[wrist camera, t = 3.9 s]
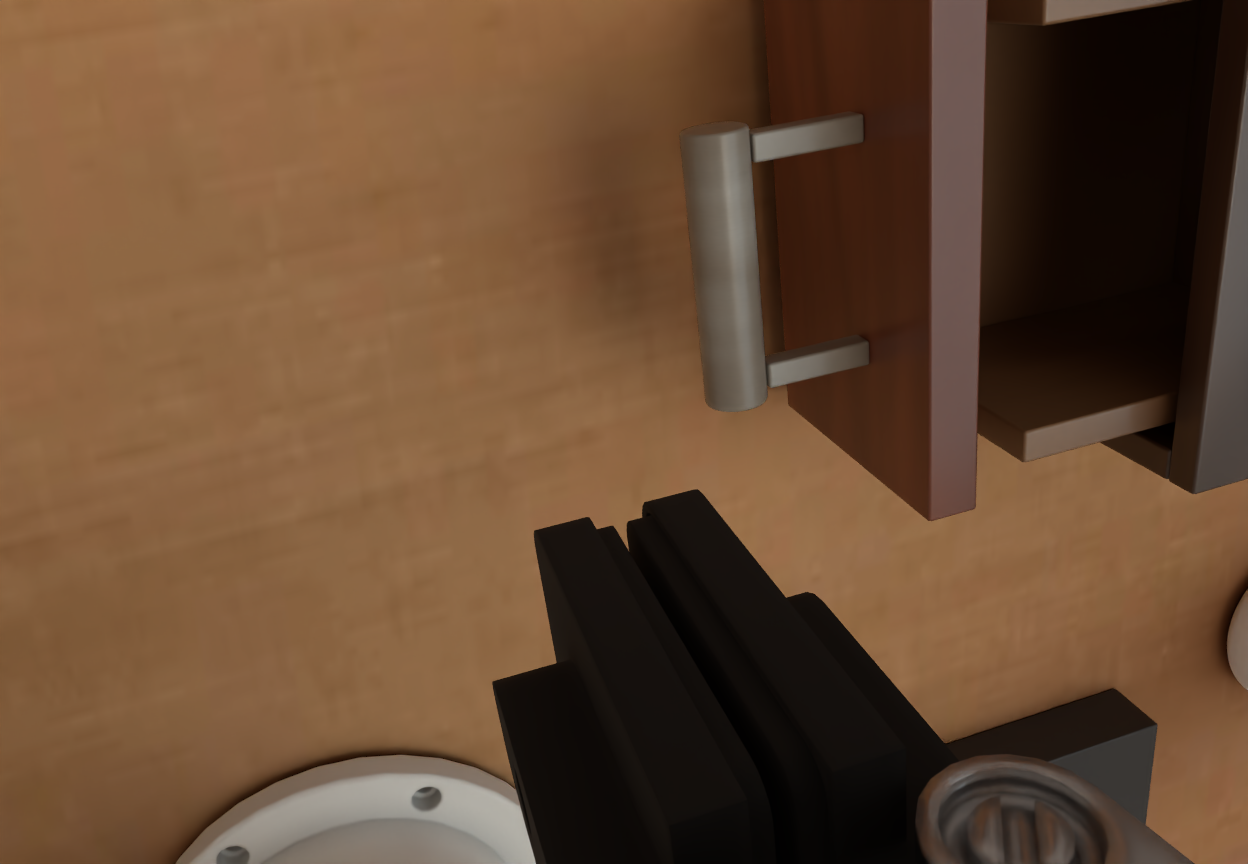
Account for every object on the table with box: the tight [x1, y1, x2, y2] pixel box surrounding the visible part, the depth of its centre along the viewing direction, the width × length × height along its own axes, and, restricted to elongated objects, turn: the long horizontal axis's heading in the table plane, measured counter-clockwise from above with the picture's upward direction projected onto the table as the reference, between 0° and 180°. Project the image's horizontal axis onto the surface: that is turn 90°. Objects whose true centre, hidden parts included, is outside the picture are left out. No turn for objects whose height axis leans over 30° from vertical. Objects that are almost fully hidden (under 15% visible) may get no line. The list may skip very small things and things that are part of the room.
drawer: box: [679, 0, 1223, 521], centre depth 24 cm, size 16×11×7 cm
